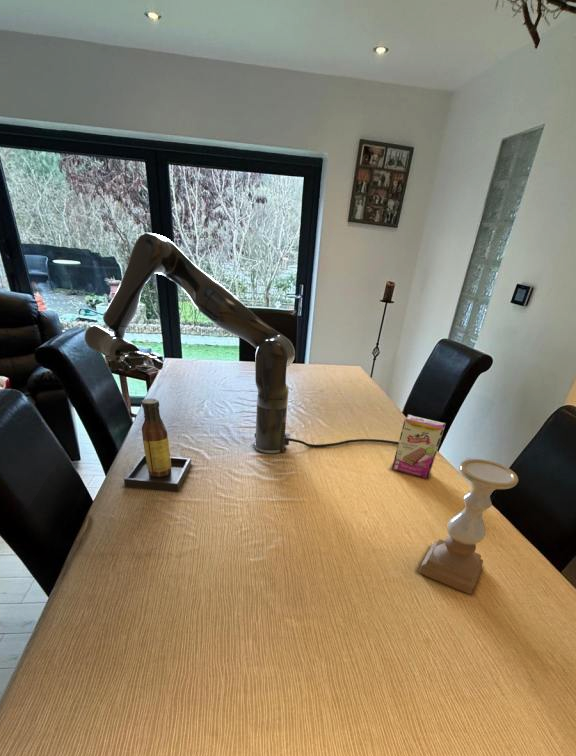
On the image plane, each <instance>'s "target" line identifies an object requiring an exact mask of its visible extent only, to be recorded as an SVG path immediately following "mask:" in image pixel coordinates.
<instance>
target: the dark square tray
mask: <svg viewBox="0 0 576 756" xmlns="http://www.w3.org/2000/svg"><path fill="white" fill-rule="evenodd" d="M170 458H171V473H170V474H169V475H167V476H165V477H154V476H151V475H150V474H149V472H148V468H147V463H146V456H145V453H142V455H141V456H140V457H139V459H138V460H137V461H136V462H135V464H134V465H133V467H132V468H131V469H130V470H129V472H128V473H127V474H126V475H125V477H123V481H124V487H125V488H134V489H146V490H157V491H158V490H159V491H168V492H169V491H170V492H179V490H180V488H181V487H182V484H183V483H184V481H185V479H186V477H187V475H188V473H189V471H190V469H191V468H192V458H189V457H179V456H170Z"/></svg>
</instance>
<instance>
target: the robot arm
mask: <svg viewBox="0 0 576 756" xmlns="http://www.w3.org/2000/svg"><path fill="white" fill-rule="evenodd" d="M154 274H158V275H162V276H164V277H166V278H167V279H169V280H170V281H172V282H174V283H175V284H176V285H178V286H179V287H180V288H181V289H182V290H183V291H184V292H185V293H186V294H187V296H188V298H189V299H190V300H191V302H192V303H193V305H194V307H196V309H197V310H198V311H199V312H200V314H202V315H203V316H204V317H206V318H207V319H208V320H209V321H210V322H211V323H213V324H214V325H215V326H217V327H218V328H220V329H221V330H224V331H225V332H227V333H229V334H232V335H234V336H236V337H238V338H241V339H242V340H244V341H246V342H247V343H249V344H250V345H251V346H253V347H254V348H255V349H256V351H255V363H254V365H255V367H254V370H255V371H254V372H255V373H254V375H255V376H254V379H255V381H254V382H255V386H256V390H257V391H256V394H257V395H256V413H255V433H254V439H255V440H254V449H255V450H256V451H258V452H259V453H263V454H269V455H270V454H279V453H284V450H285V446H289V445H290V442H293V443H299V444H302V445H304V446H306V447H310V448H326V447H334V446H340V445H341V446H342V445H344V444H345V445H346V444H350V443H360V442H362V443H363V442H365V443H369V442H370V443H371V442H372V443H384V444H393V445H398V443H399V441H394V440H386V439H374V438H373V439H372V438H357V439H347V440H342V441H338V442H331V443H323V444H322V443H321V444H320V443H319V444H313V443H308V442H306V441H304V440H300V439H295V438H291V437H290V435H291V434H290V433H286V429H287V428H286V427H287V416H288V415H287V413H288V401H289V393H290V392H289V391H290V389H289V386H288V384H287V368H288V367H290V366H291V365H292V363H293V362H294V360H295V358H296V351H295V350H296V349H295V346H294V345H293V342H292V341H291V340H290V339H289V338H288V337H286V336H285V335H284V334H282V333H280V332H279V331H277V330H276V329H275V328H273V327H272V326H270V325H269V324H267V323H266V322H264V321H263V320H262V319H261V318H259V316H257V315H256V314H255V313H254V312H253V311H251V309H250V308H248V306H246V305H245V304H243V302H241V301H240V300H239V299H238V298H237V297H236V296H235V295H233V294H232V293H231V292H230V291H229V290H228V289H226V288H225V287H224V286H223V285H222V284H221V283H219V282H218V281H217V280H215V279H214V278H213V277H212V276H210V275H209V274H208V273H206V272H204V270H202V269H201V268H200V267H198V266H197V265H196V264H194V262H192V261H191V260H190V259H189V258H188V257H187V256H186V255H185V254H184V253H183V251H182V250H181V249H180V248H179V247H178V246H177V245H176V244H175V243H174V242H173V241H171V239H169V238H167V237H166V236H163V235H160V234H157V233H152V232H144V233H142V234H140V235H139V237H138V238H137V239H136V240H135V242H134V245H133V248H132V251H131V253H130V255H129V259H128V263H127V265H126V267H125V270H124V273H123V275H122V279H121V281H120V283H119V285H118V288H117V290H116V292H115V294H114V295H113V298H112V299H111V301H110V303H109V304H108V306H107V308H106V310H105V312H104V314H103V315H102V320H103V323H104V324H105V326H107V327H108V328H109V329H110V330H112V331H113V332H111V331H109V330H108V329H105V328H104V327H101V326H99V325H94V324H93V325H90V326H89V327H88V328H87V329H86V330H85V333H84V342H85V344H86V346H87V347H88V348H89V349H91V350H93V351H95V352H97V353H100V354H102V355H104V359H105V365H106V367H107V368H109V370H111V371H113V372H115V371H117V370H119V371H121V372H125V373H126V374H131V371H134V370H136V369H137V368H140V367H142V368H151V367H154V368H155V369H157V370H159V371H161V370H163V368H164V356H163V355H162V354H160V353H157V352H156V351H150V352H149V353H147V352H141V350H140V348H139V347H138V346H137V345H135V344H134V343H133V342H131V341H128V340H127V339H125V335H126V332H127V329H128V327H130V324H131V323H132V321H133V319H134V318H135V316H136V314H137V311H138V309H139V306H140V299H141V294H142V292H143V290H144V287H145V285H146V284H147V282H148V281H149V280H150V279H151V277H152V276H153V275H154ZM441 445H442V442H441V441H440V444H439V446H441Z"/></svg>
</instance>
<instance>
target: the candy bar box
mask: <svg viewBox="0 0 576 756" xmlns="http://www.w3.org/2000/svg"><path fill="white" fill-rule="evenodd" d="M446 426H447V425H446V422H441V421H438V420H433V419H428V418H424V417H420V416H416V415H413V414H407V416H406V417H405V419H404V421H403V424H402V428H401V432H400V436H399V440H398V442H399V443H398V444H397V446H396V451H395V455H394V459H393V462H392V466H391V470H392V471H393V470H394V471H398V472H399V473H400V472H401V473H404V474H408V475H412V476H414V477H418V478H422V479H426V480H427V479H428V478H429V476H430V474H431V472H432V469H433V465H434V462H435V459H436V455H437V453H438V450H439V447H440V445H439V444H440V442H441V440H442V437H443V434H444V431H445V428H446Z"/></svg>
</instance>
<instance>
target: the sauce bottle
mask: <svg viewBox="0 0 576 756" xmlns="http://www.w3.org/2000/svg"><path fill="white" fill-rule="evenodd" d="M141 407H142V410H143V418H144V420H143V423H142V426H141V432H142V433H141V434H142V443H143V449H144V454H145V456H146V463H147V468H148V472H149V474H150V475H151V476H154V477H165V476H167V475H169V474H170V473H171V458H170V457H171V451H170V442H169V436H168V434H169V433H168V430H167V428H166V425H165V424H164V422H163V419H162V417H161V414H160V402H159V400H158V399H157V398H145V399H142V400H141Z"/></svg>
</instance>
